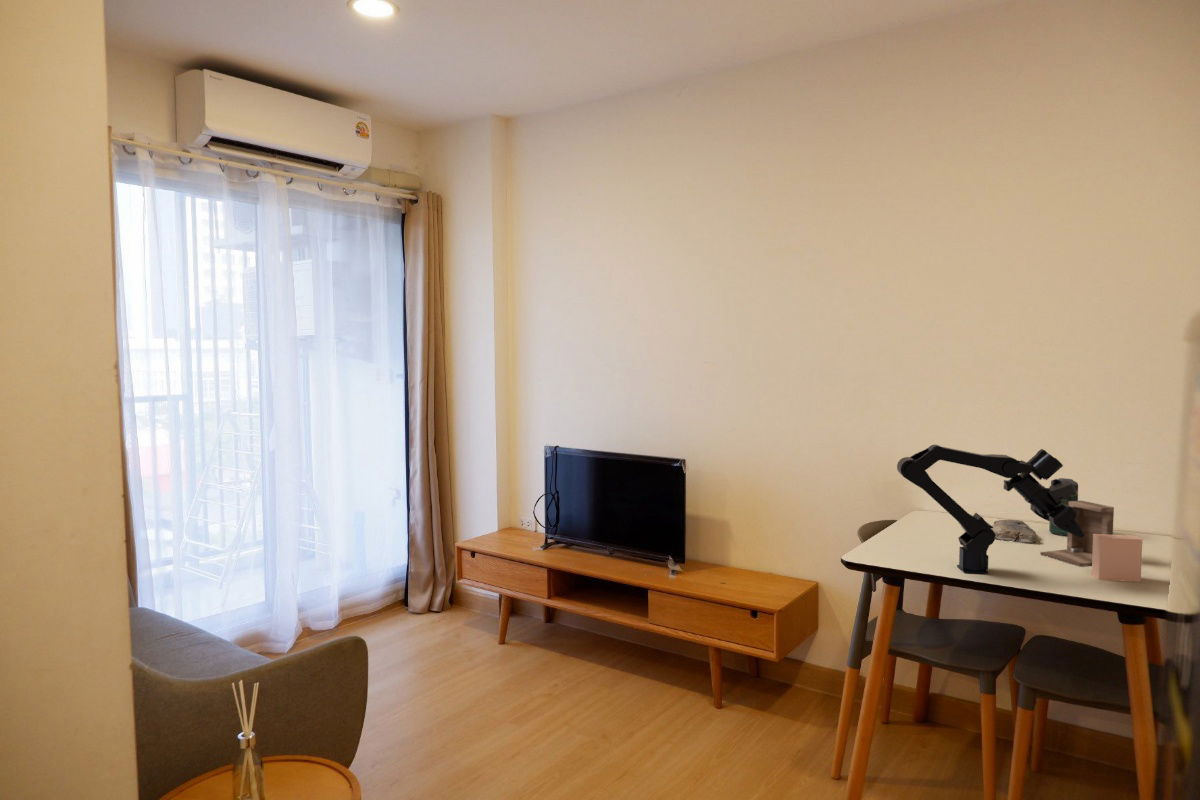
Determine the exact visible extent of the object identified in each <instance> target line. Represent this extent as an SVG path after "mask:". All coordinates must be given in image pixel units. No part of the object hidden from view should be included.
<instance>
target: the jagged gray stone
mask: <svg viewBox="0 0 1200 800" xmlns="http://www.w3.org/2000/svg"><path fill="white" fill-rule="evenodd" d="M991 526H993V528H991V529H992V530H993V531H994V532H995V539H996V540H997V539H998V540H999V541H1002V540H1003V541H1002V542H1009V541H1013V542H1012V543H1014V542H1015V541H1017V542H1016V543H1024V544H1029V543H1030V544H1031V543H1033V544H1034V543H1036V542H1037V540H1038V539H1037V538H1038V536H1037V532H1036V531H1035V530H1034V529H1032V527H1030V526H1029V525H1028V524H1027V523H1025V522H1024V521H1023V520H1018V519H1017V520H1016V519H1001V520H1000V519H999V520H995V521H993V524H992V525H991Z"/></svg>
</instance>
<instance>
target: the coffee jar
mask: <svg viewBox="0 0 1200 800" xmlns="http://www.w3.org/2000/svg"><path fill="white" fill-rule="evenodd" d="M1057 479H1058V480H1060V481H1061V482H1063V481H1069V482H1071V483H1072V484H1073V486H1074V488H1075V490H1076V492H1077V494H1076V495H1074V496H1069V497H1067V498H1064V499H1060V500H1061V501H1063V502H1062V503H1061V504H1059V507H1060V506H1061V505H1069V501H1079V482H1077V481H1076V480H1073V479H1072V478H1064V477H1059V478H1057ZM1048 528H1049V532H1050V533H1051V534H1055V535H1058V534H1059V535H1058V536H1062V535H1065V536H1067V534H1068V532H1067V531H1064V530H1062V529H1060V528H1058V527H1056V526H1055V525H1054V524H1052V523H1051V522H1050V521H1049V527H1048Z"/></svg>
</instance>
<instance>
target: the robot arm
mask: <svg viewBox="0 0 1200 800" xmlns="http://www.w3.org/2000/svg"><path fill="white" fill-rule="evenodd" d="M939 461H943V462H949V463H954V464H958V465H963V466H969V467H972V468H979V469H983V470H985V471H988V472H989V473H993V474H996V475H998V476H1000V477H1003V478H1004V480H1003V490H1005V491H1007V492H1010V491H1011V490H1013V489H1014V490H1015V492H1017V493H1018V494H1019V495H1020V496H1021V497H1022V498H1023V499H1024V501H1025V502H1027V503H1028V504H1030V510H1031V511H1032V512H1033V514H1035V515H1037V516H1038V517H1039V518H1041V519H1043V520H1045V521H1048V522H1049V523H1050V522H1051V523H1052V524H1054V525H1055V526H1056V527H1058V528H1060V529H1062V530H1064V531H1067V532H1069V533H1071V534H1074V535H1076V536H1078V537H1080V538H1082V537H1083V536H1084V533H1083V532H1082V530H1081V529H1080V527H1079V526H1078V524H1077V522H1076V520H1075V518H1076V516H1077V511H1076V510H1075V509H1074V508H1073V507H1071V506H1069V505H1061V506H1060V507H1059V504H1061V503H1062V502H1063V501H1061V500H1060V499H1064V498H1067V497H1069V496H1074V495H1076V494H1077V492H1076V490H1075V488H1074V486H1073V484H1072V483H1071V482H1069V481H1063V482H1061V481H1060V480H1058V479H1059V478H1054V479H1052V480H1051V481H1050V485H1049V487H1045V486H1044V485H1042V484H1041V483H1040V482H1039V481H1041V480H1045V481H1048V480H1049V479H1050V478H1051V477H1052V476H1054V475H1055V473H1057V472H1058V471H1059V470H1060V469H1061V468H1063V467H1064V464H1062V462H1061V461H1060V460H1058V459H1057V457H1054V456H1053V455H1052V454H1050V453H1048V451H1046V449H1043V448H1040V450H1038V451H1037V452H1036V453H1035V455H1033V456H1032V457H1031V458H1030V459H1029V460H1028V461H1027V462H1026V461H1025V460H1022V459H1021V460H1019V459H1018V460H1017V459H1016V458H1014V457H1012V456H1010V455H1007V454H992V453H991V454H981V453H975V452H970V451H966V450H960V449H957V448H956V449H955V448H951V447H947V446H946V447H945V446H941V445H939V444H932V445H930V446H929V447H927V448H925V449H923V450H921V451H918V452H917V453H914V454H913V455H911V456H904V457H902V458H901V459H899V461H898V462H897V464H896V470H897V472H898V473H899V474H900V475H901V477H903V478H904V479H906V481H908V482H910V483H912V484H914V485H915V486H917V487H919V488H920V489H922V491H925V493H926V494H927V495H928V496H929V497H931V498H932V499H933V500H934V501H935V502H936V503H937V504H938V505H939V506H941V507H942V508H943V509H944V511H946V512H947V513H948V514H949V515H950V516H952V518H953V519H955V521H957V522H958V524H959V525H960V527H961V528H962V530H963V531H964V532H963V533H962V534H961V535H960V536H958V537H957V538H958V541H959V544H960V545H961V546H959V551H958V552H959V555H958V556H959V559H958V564H957V565H956V567H957V569H959V570H961V571H962V572H963V573H965V574H989V572H990V571H988V570H989V555H988V553H987V551H988V549H989V547H990V546H991V545H992V544H993V543H994V542H995V541H996V538H995V532H994V531H993V530H992V529H991V528H993V526H992V525H991V524H990V523H989V522H987V521H986V520H985V519H984V518H983V516H981V515H980V514H979V513H978V512H975V513H974V514H970V513H969V512H967V510H965V509H964V508H963V507H962V506H961V505H960V504H959V503H958V502H957V501H956V500H954V499H953V498H952V497H951V496H950V495H949V494H948V493H947V492H945V491H944V490H943V489H942V488H941V487H940V486H939V485H938V484H937V483H936V482H934V480H933V479H932V478H931V476H930V475H929V474H928V472H927V471H926V470H928V469H930V467H932V466H933V465H934V464H936V463H937V462H939ZM1036 478H1037V479H1038V480H1039V481H1038V480H1037V479H1036ZM1006 479H1008V480H1006Z"/></svg>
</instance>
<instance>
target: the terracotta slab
mask: <svg viewBox="0 0 1200 800" xmlns="http://www.w3.org/2000/svg"><path fill="white" fill-rule="evenodd" d="M1142 555H1143V539H1142V538H1140V537H1139V536H1136V535H1131V534H1128V535H1125V534H1113V535H1108V534H1093V554H1092V565H1091V575H1092V577H1094V578H1096V579H1097V580H1100V581H1114V580H1124V581H1123V582H1132V581H1142V580H1141V579H1142V578H1141V577H1142V559H1143V557H1142Z"/></svg>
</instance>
